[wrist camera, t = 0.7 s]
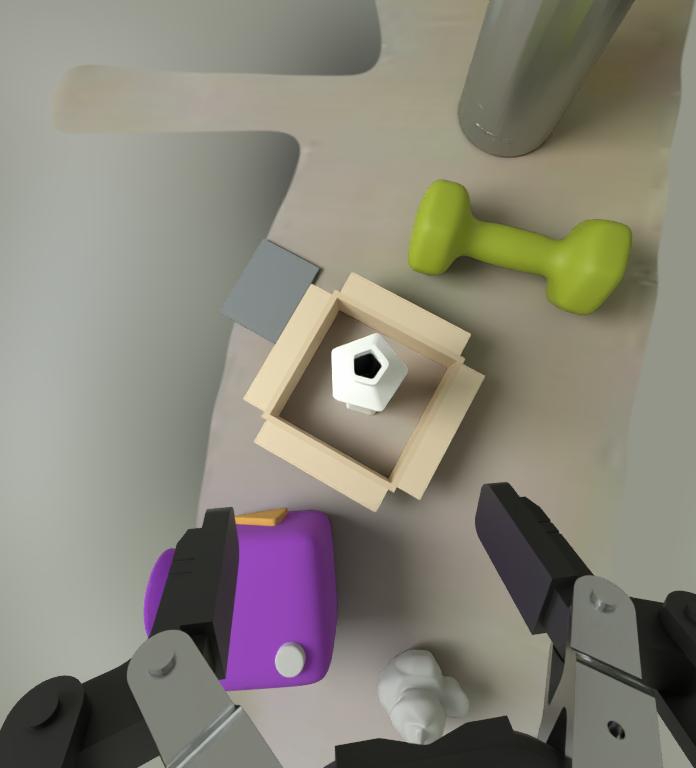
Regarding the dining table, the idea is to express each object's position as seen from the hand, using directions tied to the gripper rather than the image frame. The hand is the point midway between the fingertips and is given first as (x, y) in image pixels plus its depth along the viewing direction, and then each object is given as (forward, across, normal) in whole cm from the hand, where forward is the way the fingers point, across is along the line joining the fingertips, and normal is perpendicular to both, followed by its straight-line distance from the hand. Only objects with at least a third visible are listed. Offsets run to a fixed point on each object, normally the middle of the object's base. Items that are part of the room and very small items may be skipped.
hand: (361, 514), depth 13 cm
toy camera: (+15, +5, +20) cm, 25 cm away
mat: (+28, +4, 0) cm, 28 cm away
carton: (+21, -4, +7) cm, 23 cm away
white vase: (+22, -4, +7) cm, 23 cm away
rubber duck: (+8, -7, +26) cm, 28 cm away
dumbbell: (+26, -17, -3) cm, 31 cm away
